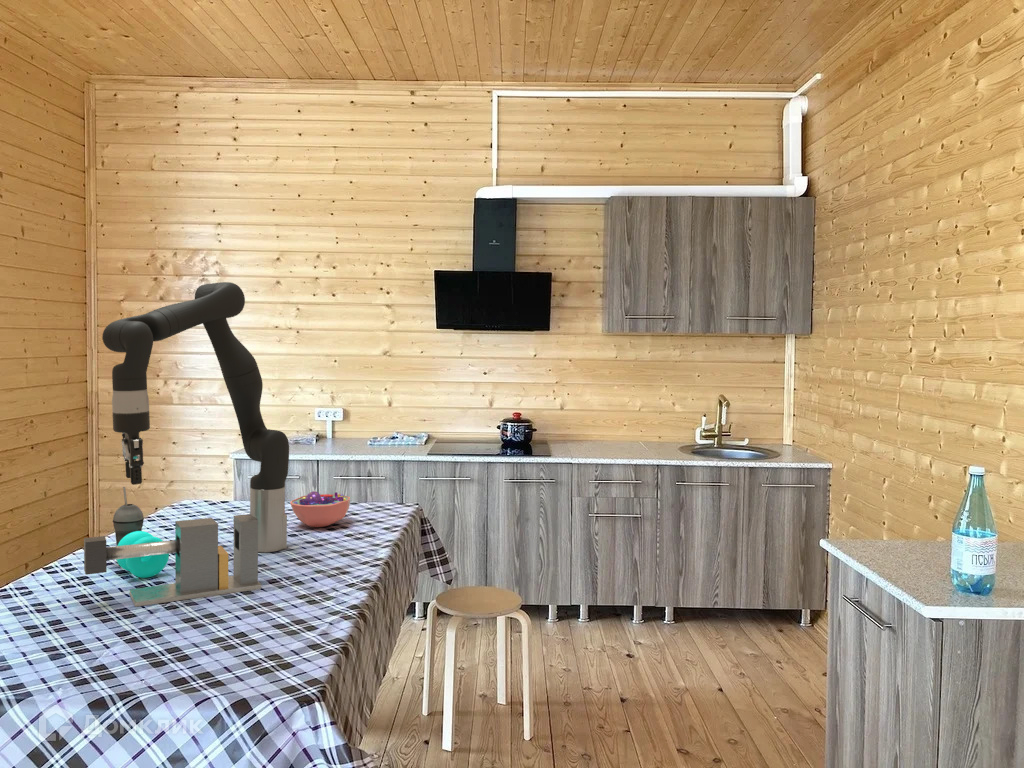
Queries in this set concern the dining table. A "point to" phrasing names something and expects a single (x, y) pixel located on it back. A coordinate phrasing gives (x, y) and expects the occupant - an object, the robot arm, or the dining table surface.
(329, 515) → the cell model
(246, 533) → the pillow blocks
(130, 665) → the dining table surface
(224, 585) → the spacer
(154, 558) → the donuts
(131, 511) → the beverage cup
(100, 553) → the shaft
